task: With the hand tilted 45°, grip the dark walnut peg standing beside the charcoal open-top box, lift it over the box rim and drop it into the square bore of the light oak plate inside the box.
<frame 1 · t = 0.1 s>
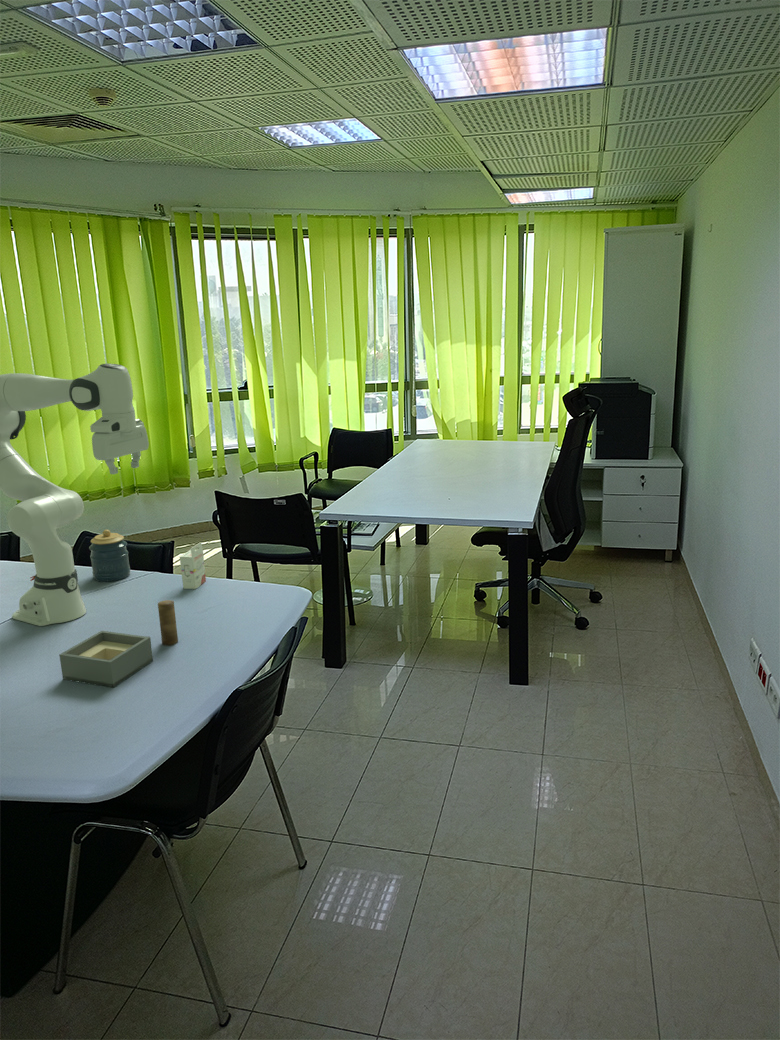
hand: (124, 470, 217), 48 cm above the table, tool pointing down, fingers open, 8 cm apart
ink cartridge box: (194, 585, 264), on the table
canister: (112, 576, 276), on the table
bore box: (109, 670, 201), on the table
peg: (170, 642, 217), on the table
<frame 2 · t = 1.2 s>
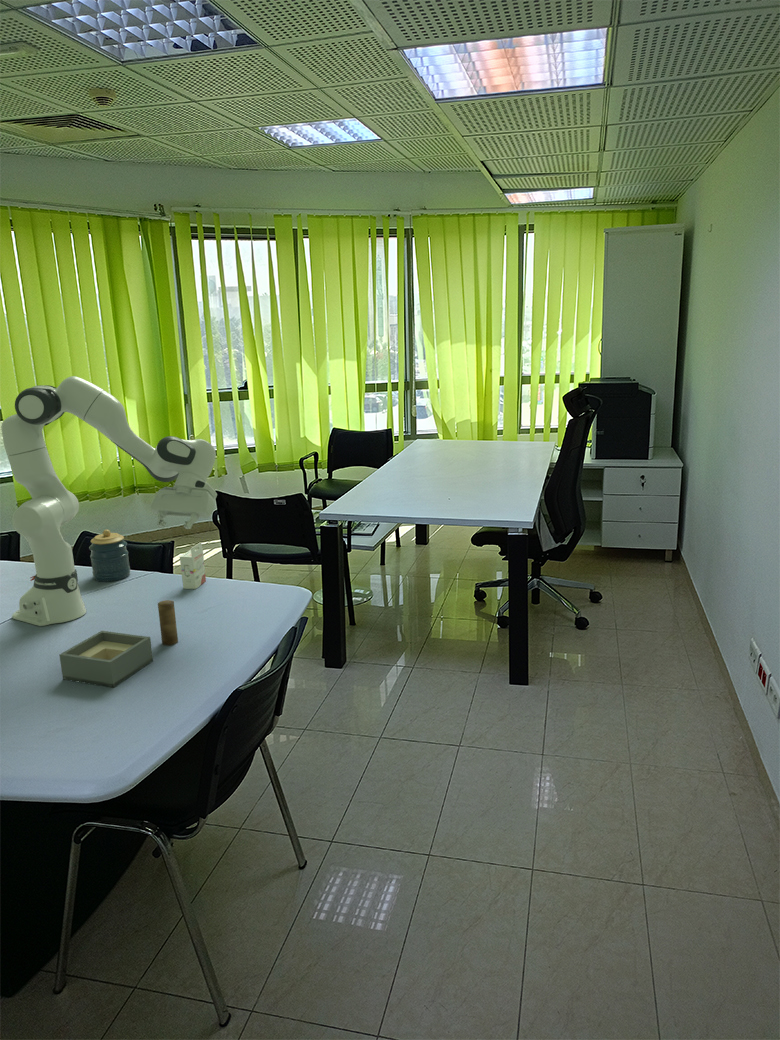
hand: (173, 527, 225), 30 cm above the table, tool tilted 45°, fingers open, 8 cm apart
nothing on the table moved.
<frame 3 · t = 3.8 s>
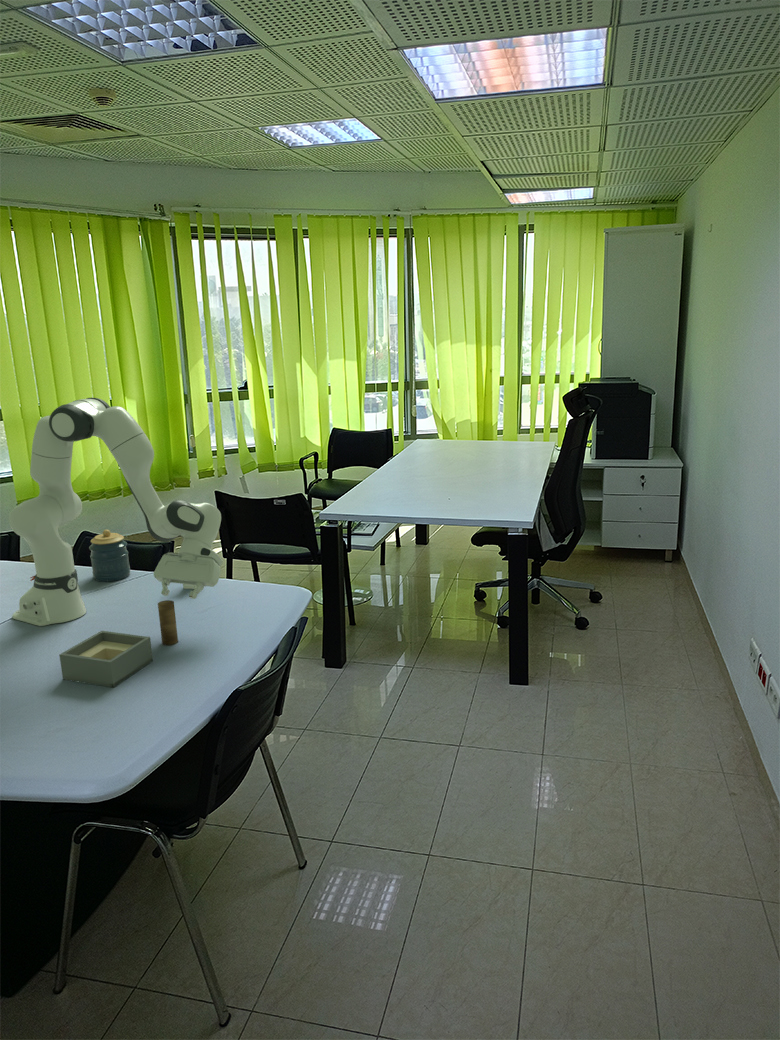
hand: (178, 596, 219), 12 cm above the table, tool tilted 45°, fingers open, 8 cm apart
nothing on the table moved.
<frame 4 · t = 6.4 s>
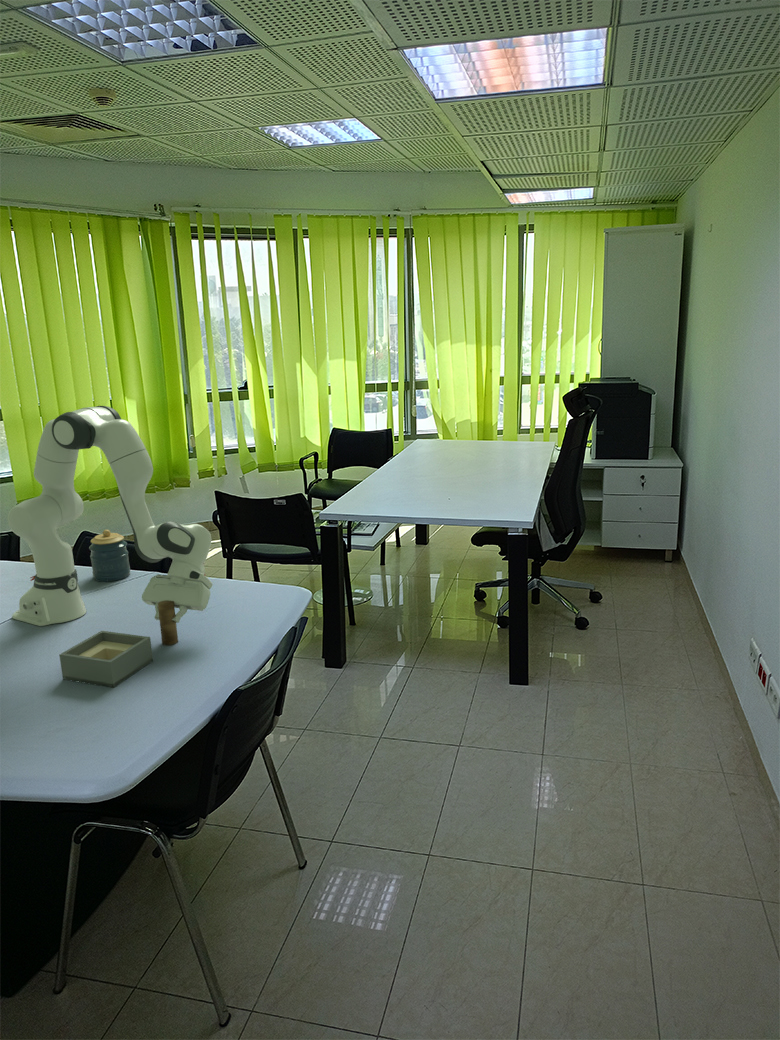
hand: (166, 620, 215), 7 cm above the table, tool tilted 45°, fingers closed on peg, 4 cm apart
peg: (170, 642, 217), on the table, touching gripper
everything else where it was.
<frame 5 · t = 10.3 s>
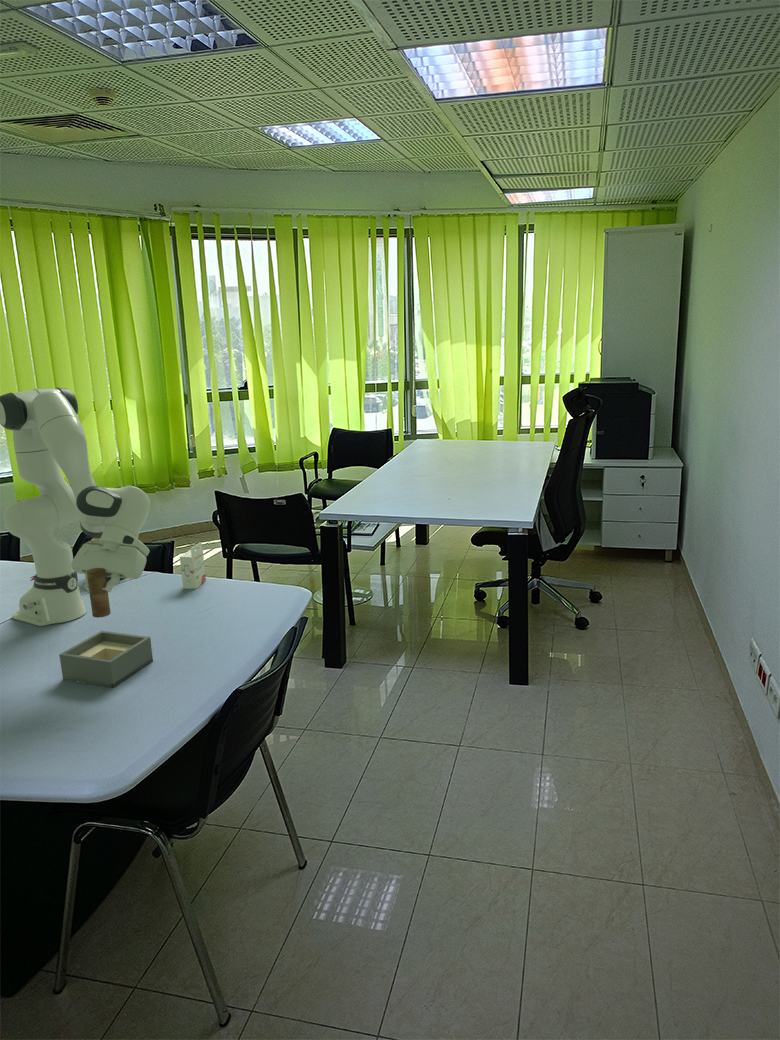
hand: (96, 590, 194), 23 cm above the table, tool tilted 45°, fingers closed on peg, 4 cm apart
peg: (101, 614, 197), point 16 cm above the table, touching gripper
everything else where it was.
when the fingers open (9 cm above the table, at t = 14.1 s): peg stays where it is, resting on bore box.
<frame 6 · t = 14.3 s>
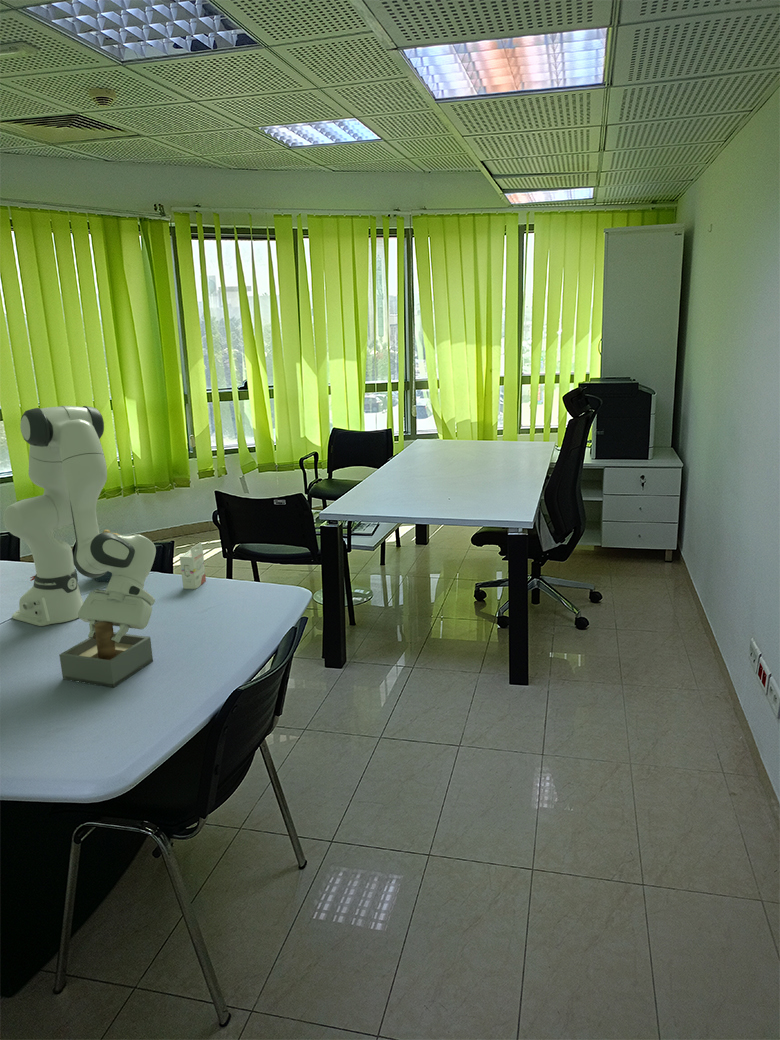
hand: (103, 640, 198), 9 cm above the table, tool tilted 45°, fingers open, 6 cm apart
peg: (108, 666, 200), point 1 cm above the table, touching bore box
everything else where it was.
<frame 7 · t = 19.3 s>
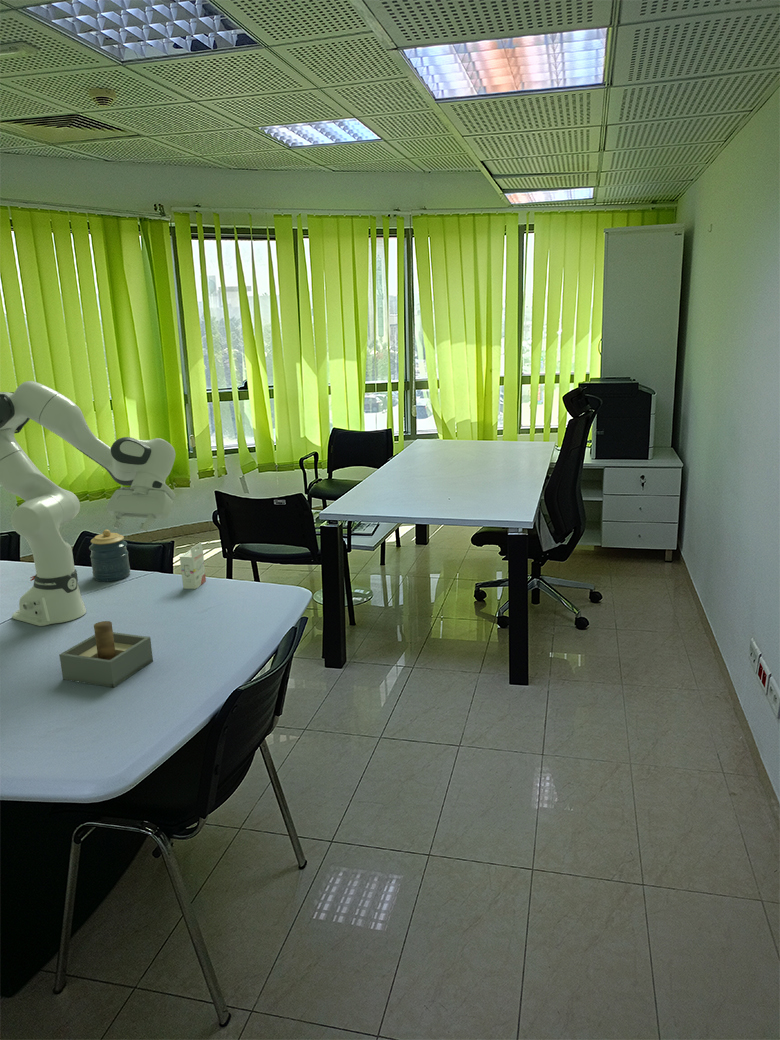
hand: (129, 528, 219), 31 cm above the table, tool tilted 45°, fingers open, 8 cm apart
nothing on the table moved.
at the end: peg 0.1 cm off-centre on the bore box, point 1.0 cm above the bore box's base; peg tilted 0°; the gripper is holding nothing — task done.
